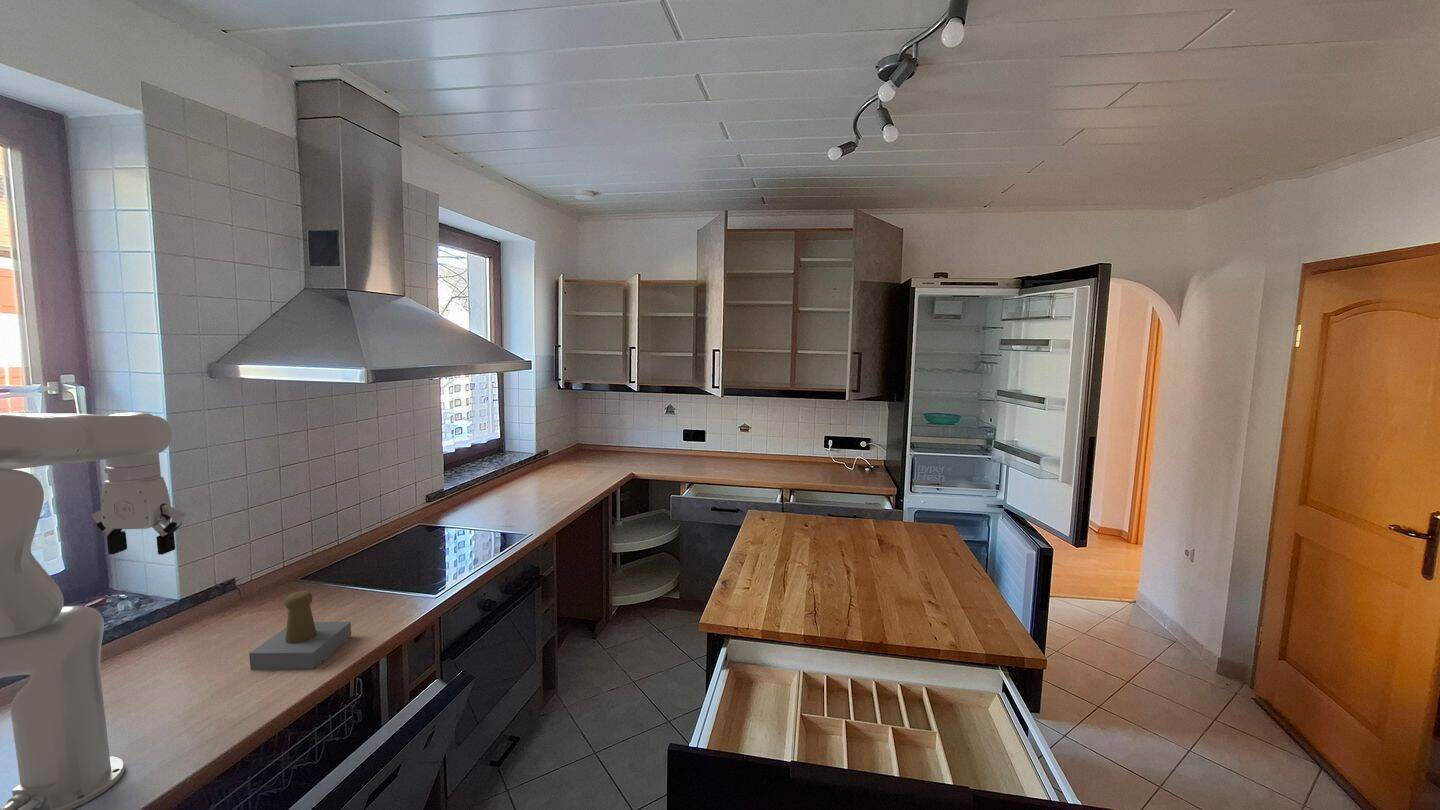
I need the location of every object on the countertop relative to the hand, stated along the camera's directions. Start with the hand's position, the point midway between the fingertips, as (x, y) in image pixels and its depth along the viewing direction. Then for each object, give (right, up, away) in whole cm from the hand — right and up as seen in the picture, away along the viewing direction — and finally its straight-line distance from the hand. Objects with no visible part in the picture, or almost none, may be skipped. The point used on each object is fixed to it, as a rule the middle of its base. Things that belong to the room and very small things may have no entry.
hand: (142, 552), depth 115 cm
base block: (+21, -29, +18) cm, 40 cm away
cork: (+21, -25, +17) cm, 37 cm away
